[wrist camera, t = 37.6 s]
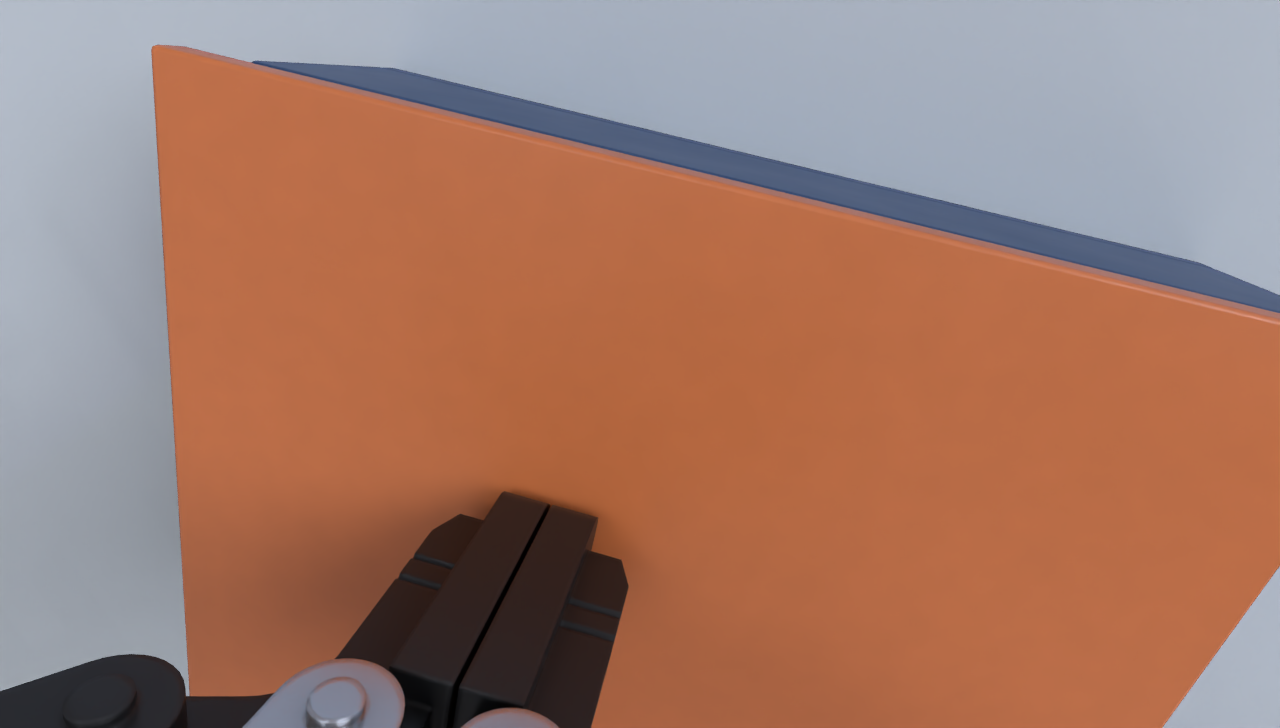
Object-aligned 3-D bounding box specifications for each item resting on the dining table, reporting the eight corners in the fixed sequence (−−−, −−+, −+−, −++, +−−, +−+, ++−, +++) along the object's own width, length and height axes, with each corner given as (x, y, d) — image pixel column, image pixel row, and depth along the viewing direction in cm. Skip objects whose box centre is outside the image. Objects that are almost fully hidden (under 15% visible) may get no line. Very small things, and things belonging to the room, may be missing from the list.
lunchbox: (358, 563, 18) (254, 686, 14) (391, 67, 13) (248, 59, 10) (940, 736, 17) (988, 917, 13) (1200, 262, 12) (1388, 338, 8)
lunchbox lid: (211, 682, 14) (188, 707, 14) (184, 45, 9) (148, 43, 9) (989, 919, 13) (999, 956, 13) (1391, 340, 8) (1435, 356, 8)
